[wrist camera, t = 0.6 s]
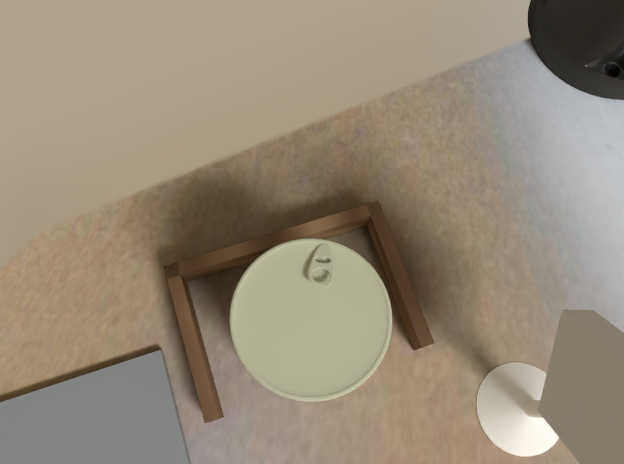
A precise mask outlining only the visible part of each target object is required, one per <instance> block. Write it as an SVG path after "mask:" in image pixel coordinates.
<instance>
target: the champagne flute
mask: <svg viewBox="0 0 624 464" xmlns="http://www.w3.org/2000/svg"><path fill="white" fill-rule="evenodd" d="M546 375H547V374H545V373H544V372H543V371H541V370H540V369H538V368H537V367H534V366H532V365H529V364H526V363H521V362H511V363H506V364H502V365H500V366H498V367H496V368H495V369H493V370H492V371H491V372H489V373H488V375H487V376H486V377H485V378H484V379H483V381H482V383H481V385H480V387H479V391H478V394H477V403H476V405H477V414H478V417H479V421H480V424H481V426H482V428H483V430H484V432H485V433H486V434H487V436H488V437H489V439H490V440H491V441H492V442H493V443H494V444H496V445H497V446H498V447H499V448H501V449H502V450H504V451H506V452H508V453H511V454H513V455H518V456H534V455H538V454H541V453H543V452H545V451H547V450H548V449H549V448H551V447H552V446H553V445H554V444H555V443H556V441H557V440H558V439H559V437H558V435H557V434H556V433H555V432H554V430H553V429H552V428H551V427H550V425H549V424H548V423H547V422H546V421H545V419H544V418H543V417H542V416H541V414H540V413H539V412H538V407H539V403H540V399H541V395H542V391H543V387H544V383H545V379H546Z"/></svg>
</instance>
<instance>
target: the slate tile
mask: <svg viewBox="0 0 624 464" xmlns="http://www.w3.org/2000/svg"><path fill="white" fill-rule="evenodd" d="M0 464H191V462H190V458H189V454H188V450H187V446H186V442H185V438H184V434H183V430H182V426H181V422H180V418H179V414H178V410H177V406H176V402H175V398H174V394H173V390H172V386H171V382H170V378H169V374H168V370H167V366H166V362H165V358H164V354H163V350H158V351H155V352H152V353H149V354H146V355H143V356H140V357H137V358H134V359H131V360H128V361H125V362H122V363H119V364H116V365H113V366H109V367H106V368H103V369H100V370H97V371H94V372H91V373H88V374H85V375H82V376H79V377H76V378H73V379H70V380H67V381H64V382H61V383H58V384H55V385H52V386H49V387H46V388H42V389H39V390H36V391H33V392H30V393H27V394H24V395H21V396H18V397H15V398H12V399H9V400H6V401H3V402H0Z"/></svg>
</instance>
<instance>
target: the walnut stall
mask: <svg viewBox="0 0 624 464" xmlns="http://www.w3.org/2000/svg"><path fill="white" fill-rule="evenodd" d="M364 226H367V229H368V231H369V234H370V237H371V239H372V242H373V244H374V247H375V250H376V252H377V255H378V257H379V260H380V263H381V265H382V268H383V271H384V273H385V276H386V278H387V281H388V284H389V286H390V289H391V291H392V294H393V297H394V299H395V302H396V305H397V307H398V310H399V312H400V315H401V318H402V320H403V323H404V325H405V328H406V331H407V333H408V336H409V339H410V341H411V344H412V346H413V349H414V350H416V349H419V348H422V347H425V346H428V345H430V344H433V343H434V341H433V338H432V336H431V333H430V331H429V328H428V325H427V323H426V320H425V318H424V315H423V313H422V310H421V308H420V305H419V303H418V300H417V298H416V295H415V293H414V290H413V287H412V285H411V282H410V280H409V277H408V275H407V272H406V270H405V267H404V265H403V262H402V260H401V257H400V255H399V252H398V249H397V247H396V244H395V242H394V239H393V237H392V234H391V232H390V229H389V227H388V224H387V222H386V219H385V217H384V214H383V212H382V209H381V206H380V204H379V201H375V202H372V203H369V204H365V205H362V206H359V207H356V208H352V209H349V210H346V211H343V212H339V213H336V214H333V215H330V216H326V217H323V218H320V219H317V220H313V221H310V222H307V223H304V224H301V225H297V226H294V227H291V228H288V229H284V230H281V231H278V232H275V233H271V234H268V235H265V236H262V237H258V238H255V239H252V240H249V241H245V242H242V243H239V244H236V245H232V246H229V247H226V248H223V249H219V250H216V251H213V252H210V253H207V254H203V255H200V256H197V257H194V258H190V259H187V260H184V261H181V262H177V263H174V264H171V265H168V266H164V269H165V273H166V277H167V281H168V285H169V288H170V292H171V296H172V300H173V304H174V307H175V311H176V315H177V319H178V323H179V326H180V330H181V334H182V338H183V342H184V345H185V349H186V353H187V357H188V361H189V364H190V368H191V372H192V376H193V380H194V384H195V387H196V391H197V395H198V399H199V403H200V406H201V410H202V414H203V418H204V422H205V423H207V422H211V421H214V420H216V419H219V418H222V417H224V416H223V412H222V409H221V405H220V401H219V398H218V394H217V390H216V387H215V383H214V379H213V376H212V372H211V368H210V365H209V361H208V357H207V354H206V350H205V347H204V343H203V339H202V336H201V332H200V328H199V325H198V321H197V317H196V314H195V310H194V306H193V303H192V299H191V295H190V292H189V288H188V284H187V282H189V281H192V280H195V279H198V278H202V277H205V276H208V275H211V274H214V273H218V272H221V271H224V270H227V269H230V268H234V267H237V266H240V265H243V264H246V263H249V262H253V261H255V260H256V259H257V258H258V257H259V256H261V255H262V254H263V253H265V252H266V251H268V250H269V249H271V248H273V247H275V246H277V245H279V244H282V243H285V242H288V241H292V240H296V239H304V238H317V239H326V238H329V237H332V236H335V235H339V234H342V233H345V232H348V231H351V230H355V229H358V228H361V227H364Z"/></svg>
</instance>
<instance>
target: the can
mask: <svg viewBox="0 0 624 464" xmlns="http://www.w3.org/2000/svg"><path fill="white" fill-rule="evenodd" d="M229 324H230V333H231V338H232V342H233V345H234V348H235V351H236V353H237V355H238V357H239V359H240V361H241V362H242V364H243V366H244V367H245V369H246V370H247V371H248V372H249V374H250V375H251V376H252V377H253V378H254V379H255V380H256V381H257V382H259V383H260V384H261V385H262V386H264V387H265V388H267V389H268V390H270V391H272V392H274V393H276V394H278V395H280V396H283V397H286V398H289V399H293V400H298V401H306V402H316V401H325V400H330V399H334V398H337V397H340V396H342V395H345V394H347V393H348V392H350V391H352V390H354V389H355V388H357V387H358V386H360V385H361V384H362V383H363V382H365V381H366V380H367V379H368V378H369V377H370V376H371V375H372V374H373V372H374V371H375V370H376V368H377V367H378V366H379V364H380V362H381V361H382V359H383V357H384V355H385V353H386V350H387V348H388V344H389V341H390V337H391V331H392V310H391V304H390V300H389V296H388V293H387V290H386V288H385V286H384V284H383V282H382V280H381V278H380V277H379V275H378V274H377V272H376V271H375V269H374V268H373V267H372V266H371V265H370V264H369V263H368V262H367V261H366V260H365V259H364V258H363V257H362V256H361V255H359V254H358V253H356V252H355V251H353V250H352V249H350V248H348V247H346V246H344V245H342V244H339V243H336V242H333V241H329V240H325V239H317V238H304V239H296V240H292V241H288V242H285V243H282V244H279V245H277V246H275V247H273V248H271V249H269V250H268V251H266V252H265V253H263V254H262V255H261V256H259V257H258V258H257V259H256V260H255V261H254V262H253V263H252V264H251V265H250V266H249V267H248V268H247V270H246V271H245V272H244V274H243V275H242V277H241V279H240V280H239V282H238V284H237V286H236V289H235V291H234V294H233V298H232V301H231V306H230V316H229Z"/></svg>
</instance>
